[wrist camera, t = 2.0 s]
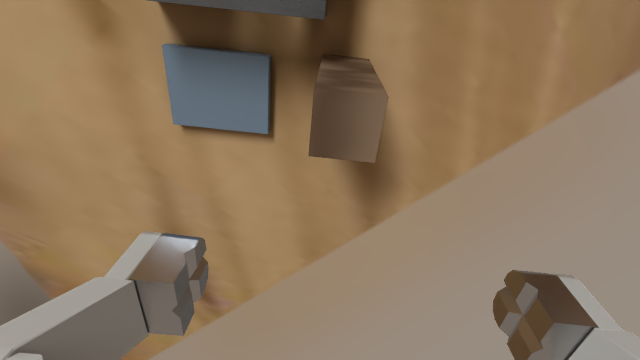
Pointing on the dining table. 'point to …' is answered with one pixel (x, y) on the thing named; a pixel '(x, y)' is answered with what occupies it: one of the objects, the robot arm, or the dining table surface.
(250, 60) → the pad
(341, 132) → the brown block
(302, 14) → the guard
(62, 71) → the dining table surface
